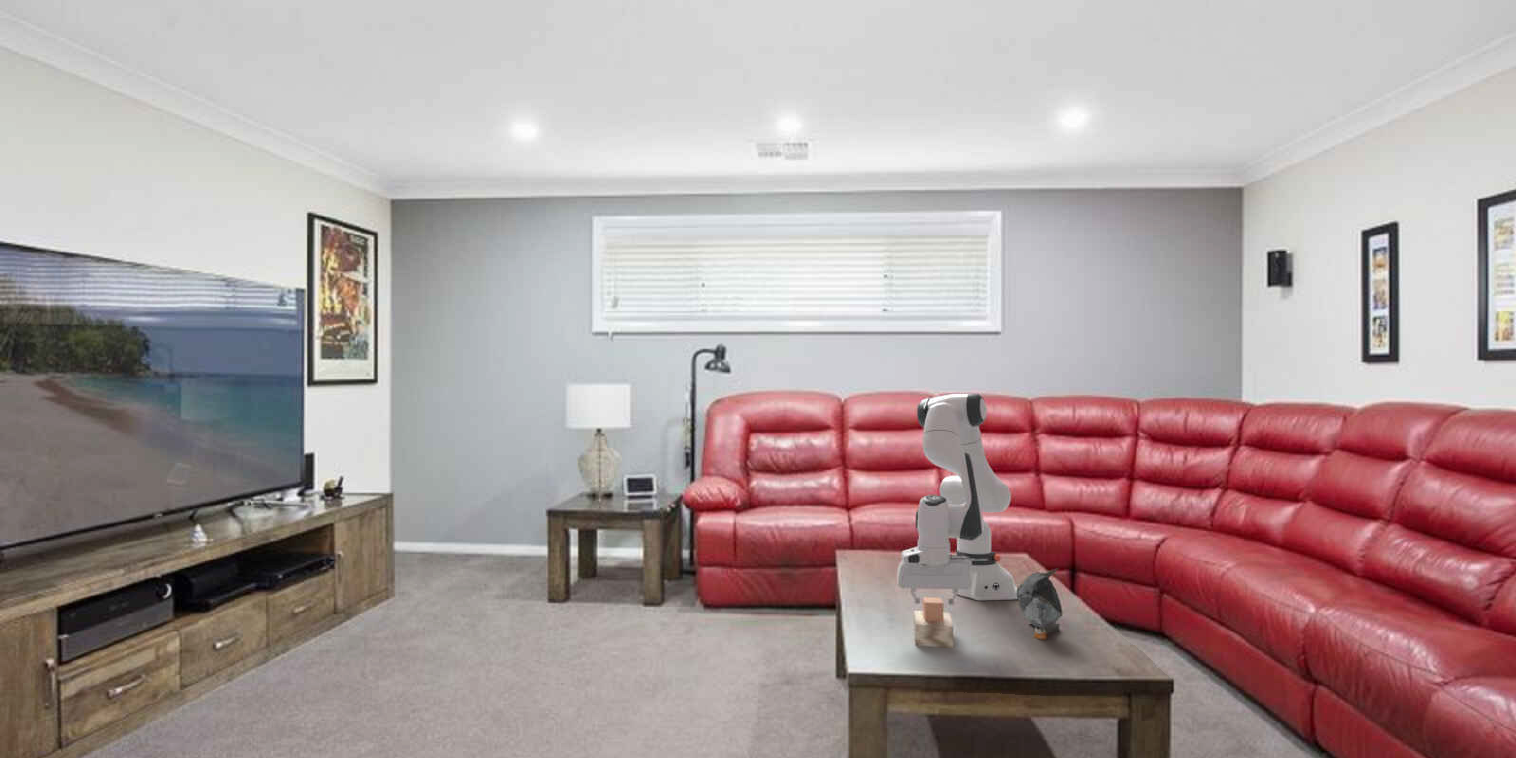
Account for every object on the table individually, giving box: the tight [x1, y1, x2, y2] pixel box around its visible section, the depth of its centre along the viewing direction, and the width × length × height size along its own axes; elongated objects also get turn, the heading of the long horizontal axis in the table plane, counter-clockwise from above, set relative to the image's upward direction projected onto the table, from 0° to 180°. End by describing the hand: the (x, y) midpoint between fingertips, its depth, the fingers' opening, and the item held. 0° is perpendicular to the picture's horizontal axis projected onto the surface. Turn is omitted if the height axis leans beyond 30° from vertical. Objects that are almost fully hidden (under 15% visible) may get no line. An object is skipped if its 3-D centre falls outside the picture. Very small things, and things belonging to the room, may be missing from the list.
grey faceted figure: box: [1016, 567, 1063, 640], centre depth 217 cm, size 14×15×18 cm
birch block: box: [913, 610, 954, 648], centre depth 213 cm, size 10×12×6 cm
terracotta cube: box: [922, 597, 945, 621], centre depth 213 cm, size 5×5×5 cm
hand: (933, 603), depth 213 cm, fingers open, 8 cm apart
